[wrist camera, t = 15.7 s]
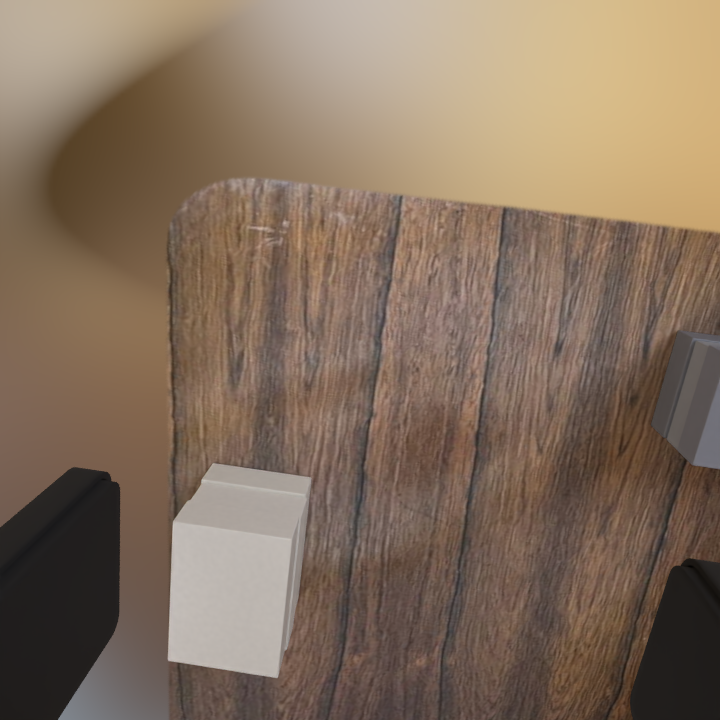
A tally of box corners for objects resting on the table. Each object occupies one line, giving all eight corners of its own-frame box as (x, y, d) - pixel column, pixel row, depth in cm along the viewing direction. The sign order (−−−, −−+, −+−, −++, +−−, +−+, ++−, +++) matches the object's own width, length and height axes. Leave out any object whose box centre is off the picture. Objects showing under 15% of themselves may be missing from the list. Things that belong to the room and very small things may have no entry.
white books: (212, 462, 41) (187, 498, 36) (313, 477, 41) (301, 515, 36) (205, 585, 44) (181, 633, 39) (299, 600, 44) (286, 650, 39)
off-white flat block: (187, 499, 37) (172, 521, 34) (299, 516, 36) (292, 539, 34) (181, 632, 39) (167, 661, 37) (285, 648, 39) (277, 678, 37)
